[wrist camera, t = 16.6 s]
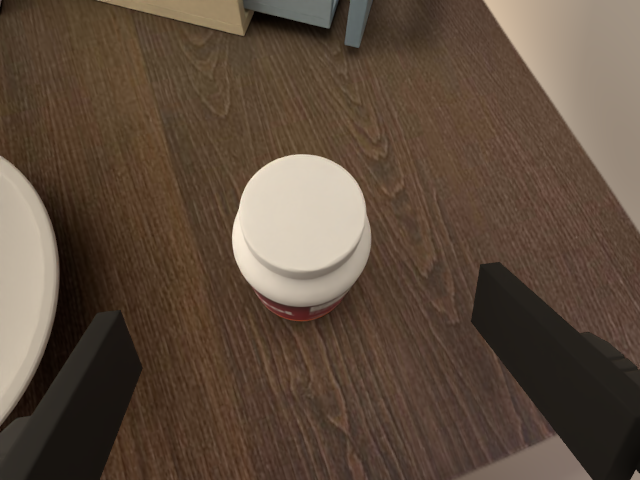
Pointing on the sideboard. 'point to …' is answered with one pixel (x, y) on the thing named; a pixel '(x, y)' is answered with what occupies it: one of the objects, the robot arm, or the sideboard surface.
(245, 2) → the drawer
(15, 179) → the dish
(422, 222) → the sideboard surface
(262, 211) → the pill bottle
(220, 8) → the cabinet
